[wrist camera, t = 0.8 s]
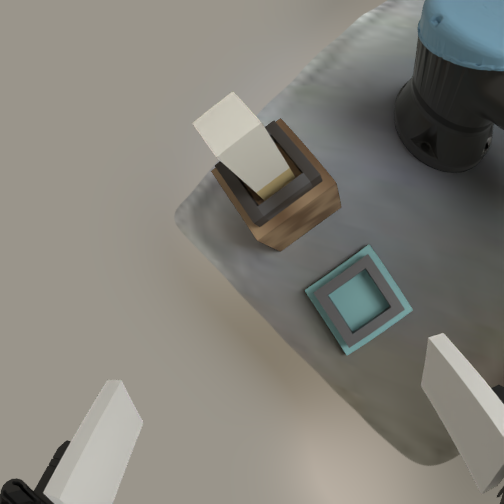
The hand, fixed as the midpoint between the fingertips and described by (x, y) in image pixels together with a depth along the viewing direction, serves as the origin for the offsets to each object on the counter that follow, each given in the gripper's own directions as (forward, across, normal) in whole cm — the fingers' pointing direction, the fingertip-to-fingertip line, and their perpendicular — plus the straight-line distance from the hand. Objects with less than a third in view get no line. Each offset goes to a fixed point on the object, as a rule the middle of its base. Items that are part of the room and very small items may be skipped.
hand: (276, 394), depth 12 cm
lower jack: (+25, +10, -10) cm, 29 cm away
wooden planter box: (+33, +4, +3) cm, 33 cm away
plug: (+24, +2, +7) cm, 25 cm away
